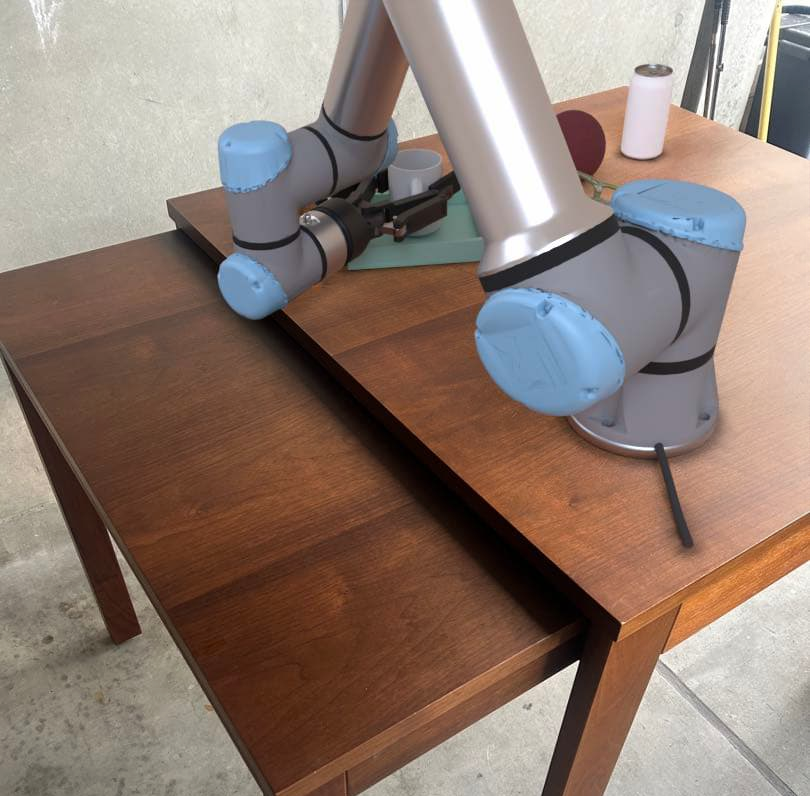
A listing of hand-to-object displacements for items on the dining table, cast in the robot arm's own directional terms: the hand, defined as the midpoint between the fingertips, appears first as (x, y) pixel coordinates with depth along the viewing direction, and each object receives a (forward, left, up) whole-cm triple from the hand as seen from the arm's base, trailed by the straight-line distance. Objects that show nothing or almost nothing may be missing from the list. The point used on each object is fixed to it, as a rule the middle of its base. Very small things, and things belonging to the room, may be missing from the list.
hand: (432, 172), depth 117 cm
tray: (-4, +3, -7) cm, 9 cm away
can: (+19, -35, -7) cm, 41 cm away
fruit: (-22, -17, -7) cm, 28 cm away
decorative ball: (+10, -21, -2) cm, 24 cm away
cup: (-4, +3, -6) cm, 8 cm away
